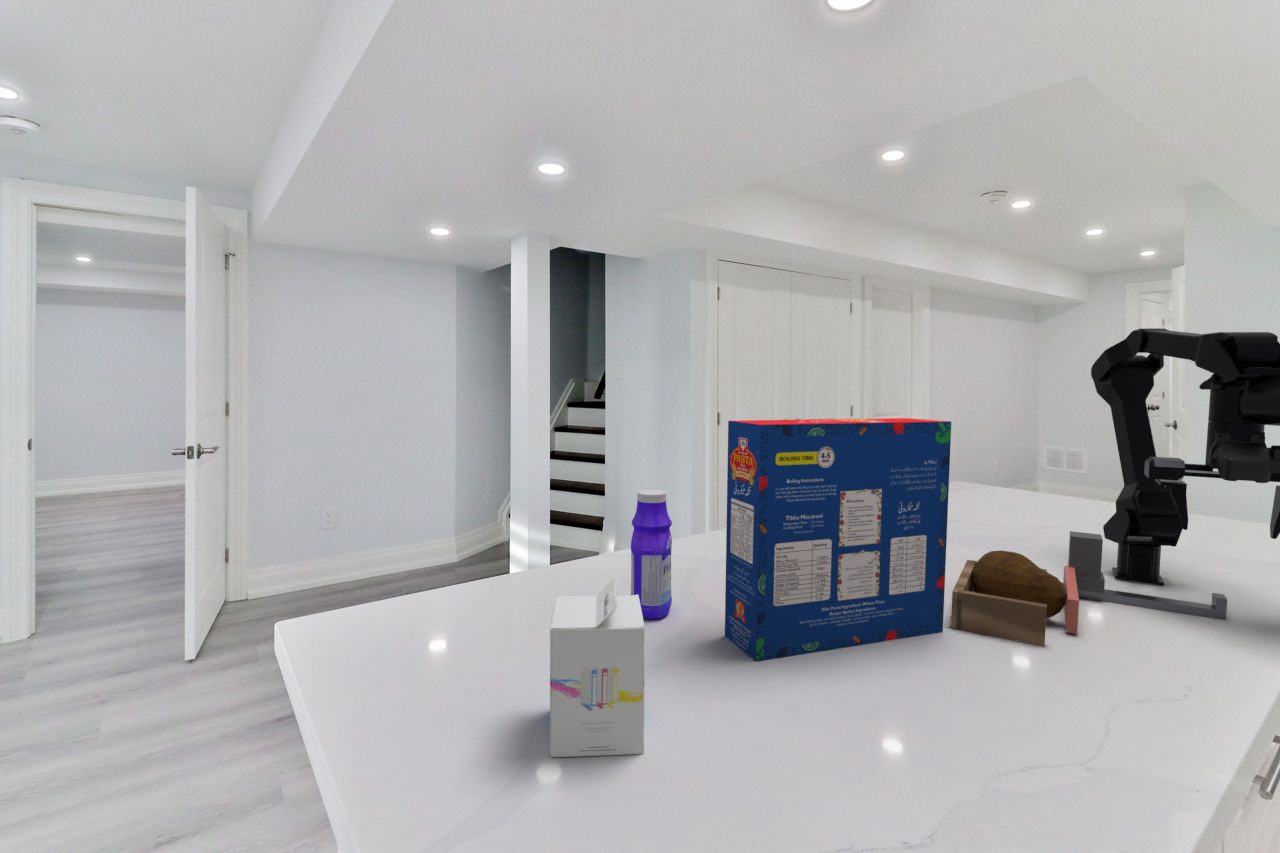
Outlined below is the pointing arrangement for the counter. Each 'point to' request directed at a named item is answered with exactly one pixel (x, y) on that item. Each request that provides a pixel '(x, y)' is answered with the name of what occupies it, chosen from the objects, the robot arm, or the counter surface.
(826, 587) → the pasta box
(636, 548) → the bottle
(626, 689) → the ink box
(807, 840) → the counter surface
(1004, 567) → the potato
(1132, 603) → the rail
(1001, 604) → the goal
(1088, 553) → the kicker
